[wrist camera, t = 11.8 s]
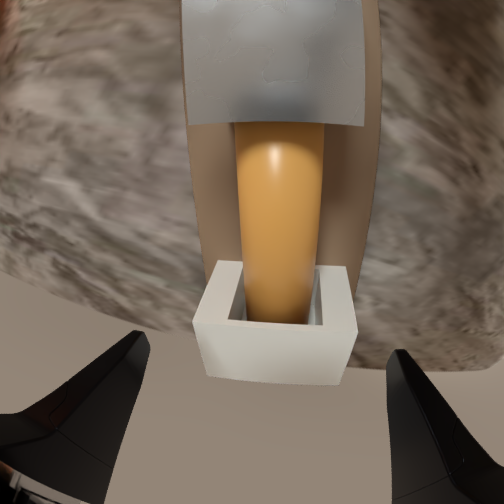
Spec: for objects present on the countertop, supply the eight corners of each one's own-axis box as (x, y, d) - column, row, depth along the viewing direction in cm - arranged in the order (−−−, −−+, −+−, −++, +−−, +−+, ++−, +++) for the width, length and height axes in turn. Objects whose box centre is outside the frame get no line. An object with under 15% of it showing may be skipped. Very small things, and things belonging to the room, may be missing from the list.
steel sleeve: (330, -39, 7) (344, -89, 3) (338, 113, 12) (364, 126, 8) (219, -36, 8) (183, -81, 4) (226, 112, 13) (188, 125, 8)
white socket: (345, 266, 17) (358, 332, 12) (334, 322, 19) (338, 385, 15) (217, 260, 18) (192, 321, 13) (225, 316, 21) (207, 376, 16)
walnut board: (367, -40, 7) (370, -45, 6) (346, 315, 20) (347, 322, 19) (184, -36, 8) (179, -41, 8) (214, 307, 21) (212, 314, 21)
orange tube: (320, 84, 11) (329, 81, 8) (307, 306, 18) (307, 349, 15) (241, 84, 11) (222, 82, 8) (251, 302, 18) (242, 345, 15)
